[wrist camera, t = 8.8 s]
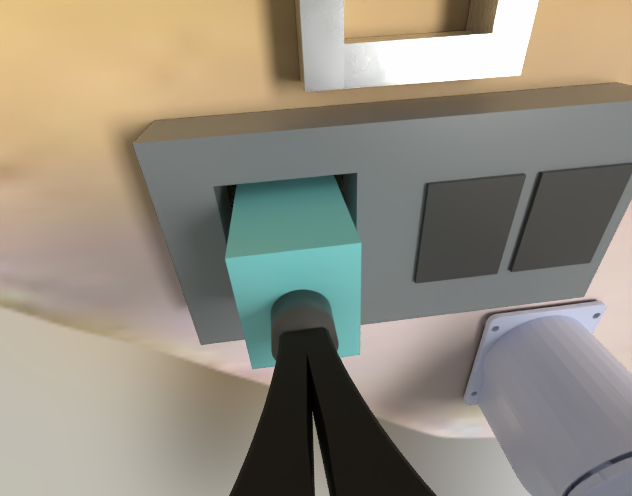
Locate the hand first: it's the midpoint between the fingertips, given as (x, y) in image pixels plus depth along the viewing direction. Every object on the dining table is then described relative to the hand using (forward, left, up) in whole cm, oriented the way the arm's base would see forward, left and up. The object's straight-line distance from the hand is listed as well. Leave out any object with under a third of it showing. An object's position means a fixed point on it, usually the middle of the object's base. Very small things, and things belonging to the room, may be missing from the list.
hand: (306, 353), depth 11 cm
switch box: (0, -5, -8) cm, 10 cm away
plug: (0, 0, -9) cm, 9 cm away
